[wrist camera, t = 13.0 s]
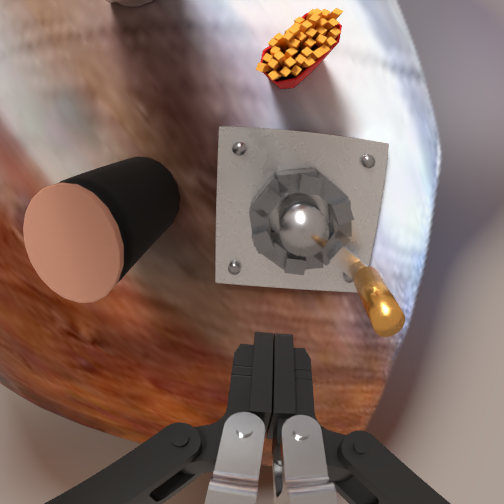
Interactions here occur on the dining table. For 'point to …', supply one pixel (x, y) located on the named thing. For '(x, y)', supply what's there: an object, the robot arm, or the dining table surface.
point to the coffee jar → (98, 225)
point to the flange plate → (285, 159)
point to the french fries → (300, 48)
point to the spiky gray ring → (364, 277)
